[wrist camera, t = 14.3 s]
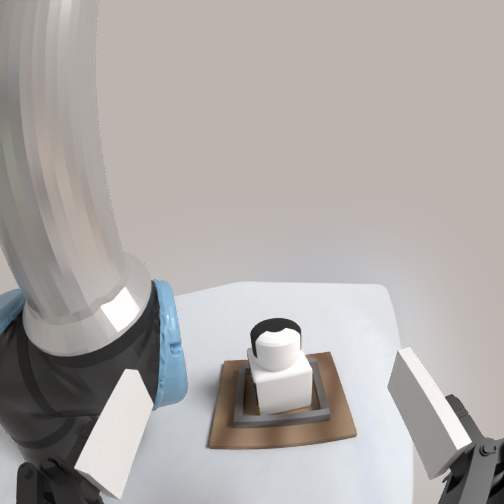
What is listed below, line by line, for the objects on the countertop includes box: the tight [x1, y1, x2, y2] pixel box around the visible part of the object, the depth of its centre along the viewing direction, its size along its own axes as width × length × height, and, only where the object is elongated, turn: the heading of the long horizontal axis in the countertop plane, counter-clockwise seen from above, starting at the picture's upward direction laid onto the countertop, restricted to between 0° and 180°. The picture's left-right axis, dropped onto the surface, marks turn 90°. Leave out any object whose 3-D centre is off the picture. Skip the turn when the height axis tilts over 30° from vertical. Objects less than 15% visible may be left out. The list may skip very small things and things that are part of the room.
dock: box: [209, 352, 357, 449], centre depth 34 cm, size 18×18×2 cm
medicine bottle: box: [247, 318, 312, 416], centre depth 33 cm, size 7×7×12 cm
